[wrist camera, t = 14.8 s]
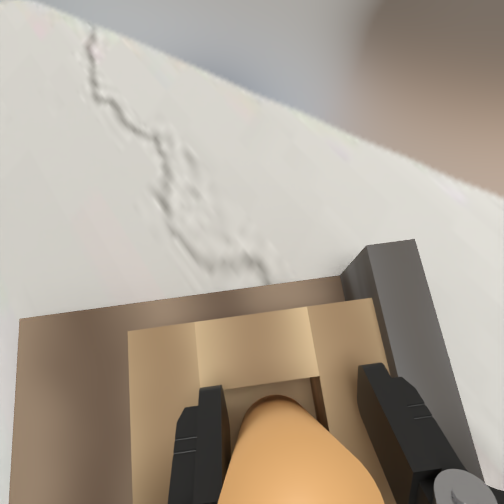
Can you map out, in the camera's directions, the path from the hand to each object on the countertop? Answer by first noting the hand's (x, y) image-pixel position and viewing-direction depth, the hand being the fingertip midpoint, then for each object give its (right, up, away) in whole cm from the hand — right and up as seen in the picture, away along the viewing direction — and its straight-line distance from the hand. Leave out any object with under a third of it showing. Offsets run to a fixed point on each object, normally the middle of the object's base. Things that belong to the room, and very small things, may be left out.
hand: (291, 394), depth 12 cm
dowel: (0, -3, +4) cm, 5 cm away
